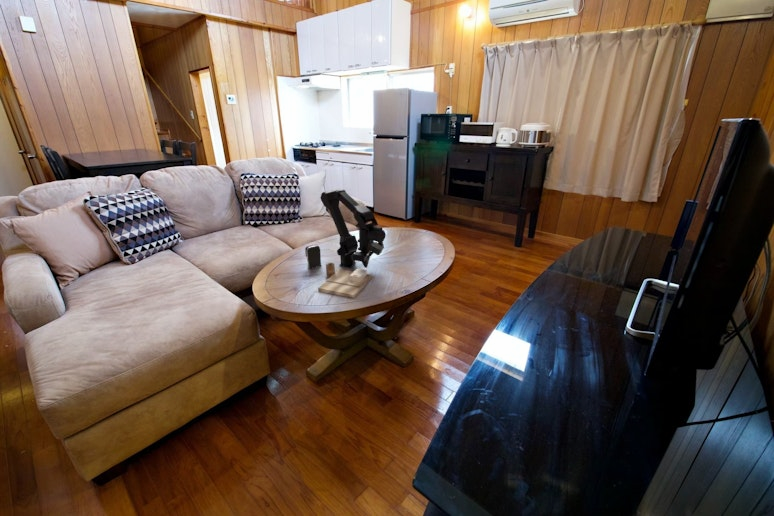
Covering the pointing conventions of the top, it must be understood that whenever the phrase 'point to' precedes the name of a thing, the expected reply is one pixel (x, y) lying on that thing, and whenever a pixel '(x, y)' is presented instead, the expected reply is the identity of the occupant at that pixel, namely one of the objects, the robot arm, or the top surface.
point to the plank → (343, 284)
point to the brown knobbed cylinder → (330, 269)
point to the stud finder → (358, 275)
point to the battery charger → (313, 256)
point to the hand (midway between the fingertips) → (365, 267)
